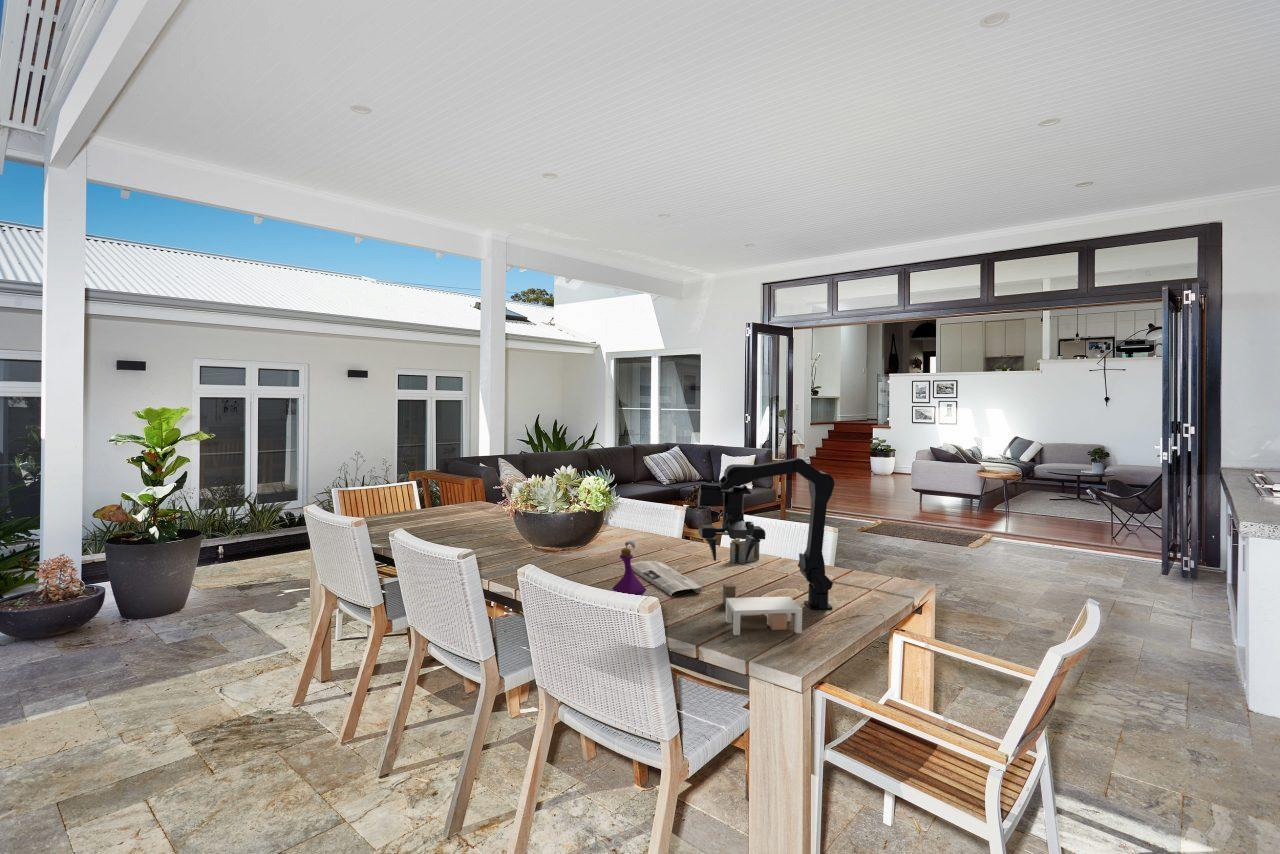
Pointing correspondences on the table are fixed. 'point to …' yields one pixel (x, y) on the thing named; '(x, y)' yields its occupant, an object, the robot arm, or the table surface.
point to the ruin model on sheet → (742, 551)
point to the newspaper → (665, 577)
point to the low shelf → (762, 609)
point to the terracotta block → (777, 621)
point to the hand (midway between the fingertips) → (730, 561)
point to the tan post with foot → (747, 620)
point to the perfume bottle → (629, 575)
